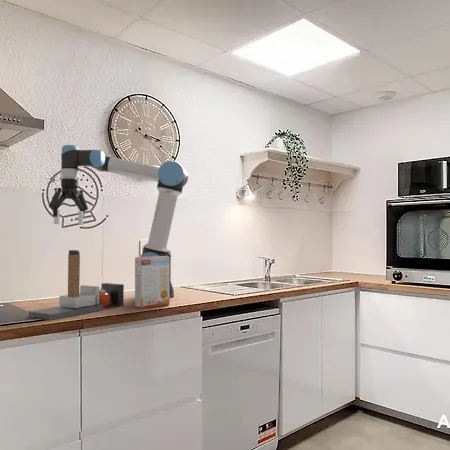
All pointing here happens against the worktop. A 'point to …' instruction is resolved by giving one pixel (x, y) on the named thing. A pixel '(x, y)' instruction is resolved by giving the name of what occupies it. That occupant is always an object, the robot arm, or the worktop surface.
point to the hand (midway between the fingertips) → (69, 224)
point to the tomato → (104, 298)
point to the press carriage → (87, 293)
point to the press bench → (61, 312)
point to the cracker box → (151, 281)
